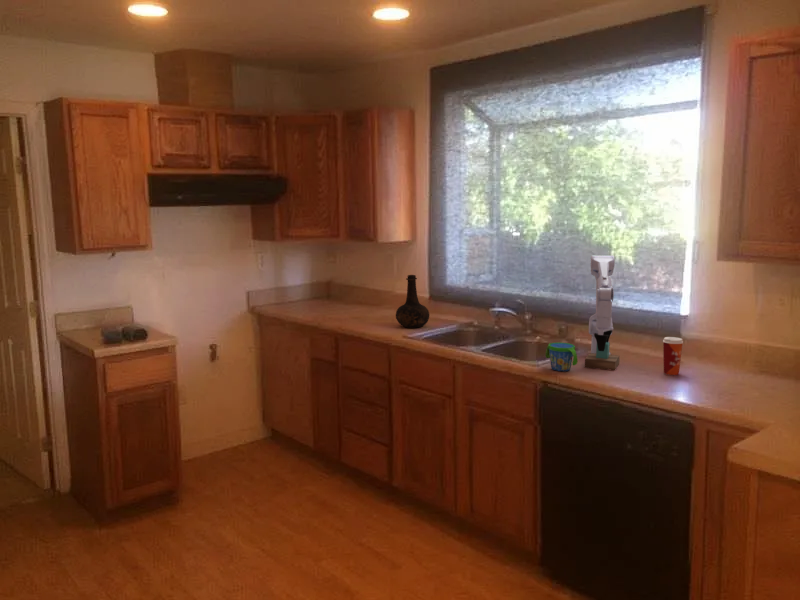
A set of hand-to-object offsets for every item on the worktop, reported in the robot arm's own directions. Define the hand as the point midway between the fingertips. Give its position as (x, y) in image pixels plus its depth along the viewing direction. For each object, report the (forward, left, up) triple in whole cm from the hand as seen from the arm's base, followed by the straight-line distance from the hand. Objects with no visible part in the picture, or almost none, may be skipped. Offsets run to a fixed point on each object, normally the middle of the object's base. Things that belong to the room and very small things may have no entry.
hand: (602, 349), depth 292 cm
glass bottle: (-48, -107, -7) cm, 117 cm away
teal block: (0, 0, -3) cm, 3 cm away
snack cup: (+14, -14, -7) cm, 21 cm away
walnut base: (0, 0, -7) cm, 7 cm away
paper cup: (+2, +27, -7) cm, 28 cm away
